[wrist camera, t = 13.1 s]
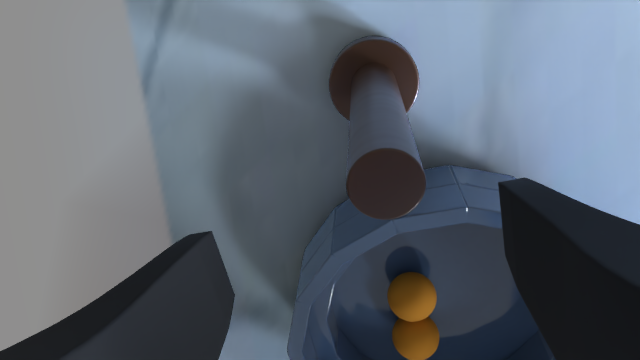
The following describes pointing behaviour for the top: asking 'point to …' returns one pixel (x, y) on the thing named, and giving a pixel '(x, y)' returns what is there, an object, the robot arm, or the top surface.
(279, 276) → the top surface
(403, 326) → the bead
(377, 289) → the bowl
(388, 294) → the bead
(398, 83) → the stick
